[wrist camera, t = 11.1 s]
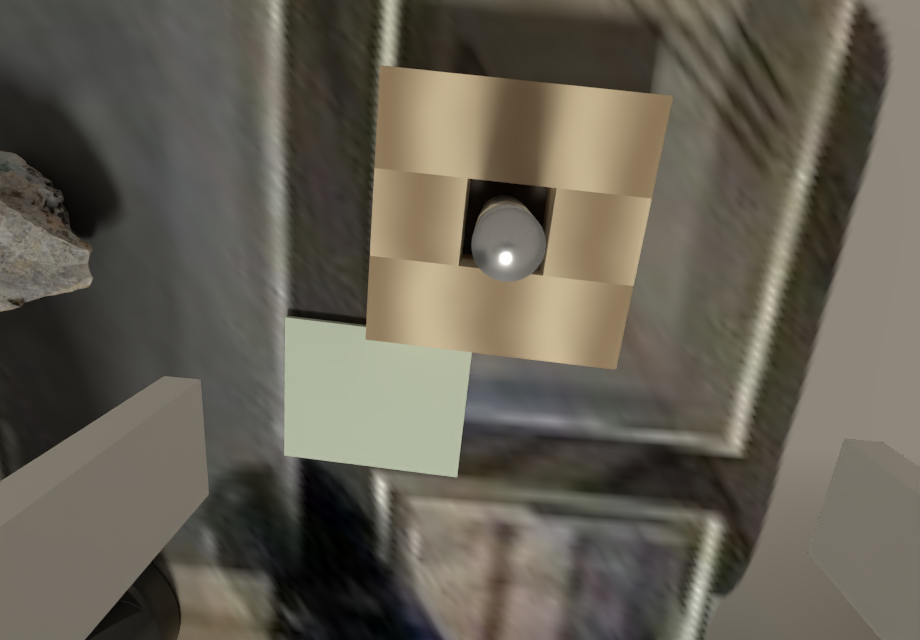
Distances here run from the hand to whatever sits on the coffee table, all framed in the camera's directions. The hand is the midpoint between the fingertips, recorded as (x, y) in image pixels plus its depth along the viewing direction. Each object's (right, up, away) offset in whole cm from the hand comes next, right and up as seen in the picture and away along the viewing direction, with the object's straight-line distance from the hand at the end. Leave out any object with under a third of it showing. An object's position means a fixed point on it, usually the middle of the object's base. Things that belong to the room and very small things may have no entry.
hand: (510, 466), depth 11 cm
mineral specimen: (-27, +9, +22) cm, 36 cm away
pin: (+2, +9, +20) cm, 22 cm away
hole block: (+2, +9, +20) cm, 22 cm away
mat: (-7, -2, +23) cm, 24 cm away
